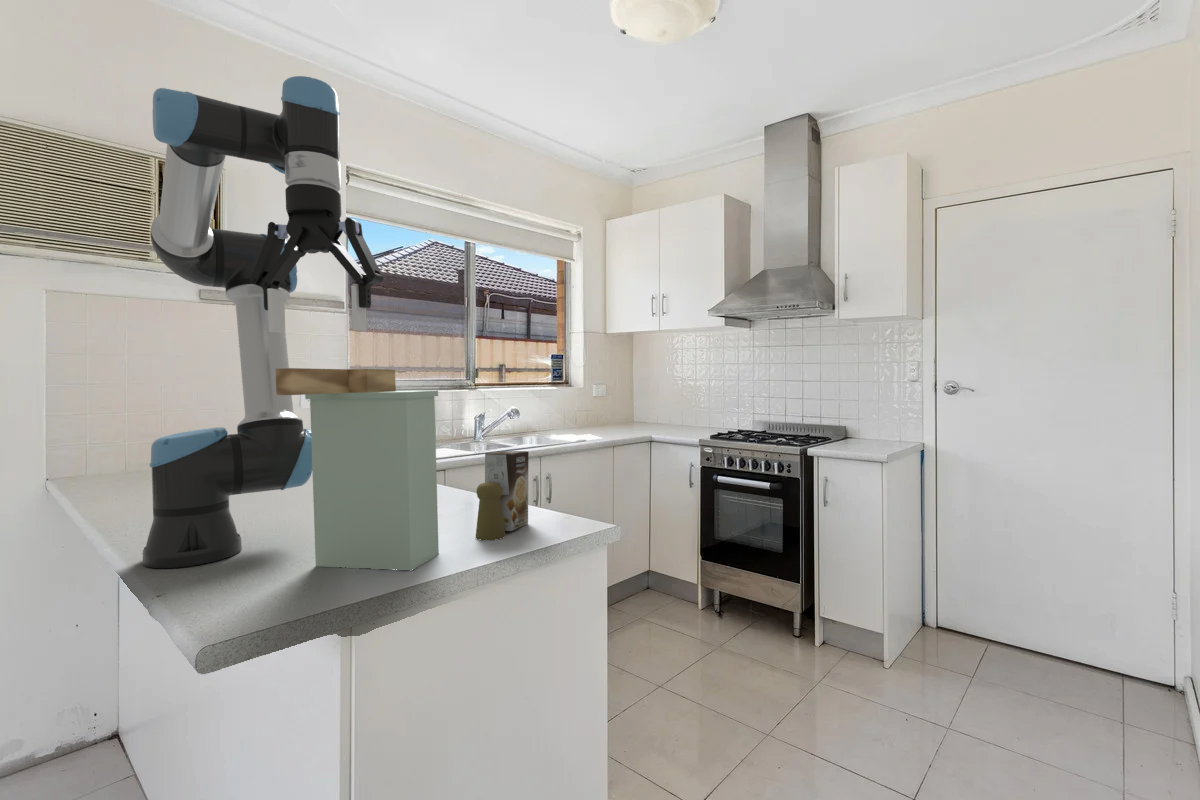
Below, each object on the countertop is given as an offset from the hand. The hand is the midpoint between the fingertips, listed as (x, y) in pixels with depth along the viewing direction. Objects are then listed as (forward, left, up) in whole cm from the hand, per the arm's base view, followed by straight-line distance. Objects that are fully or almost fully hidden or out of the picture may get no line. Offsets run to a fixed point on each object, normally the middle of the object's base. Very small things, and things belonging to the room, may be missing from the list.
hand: (318, 331), depth 90 cm
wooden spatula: (-4, +10, -10) cm, 14 cm away
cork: (+14, +33, -40) cm, 53 cm away
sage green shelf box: (0, +15, -40) cm, 42 cm away
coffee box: (+15, +40, -40) cm, 58 cm away
